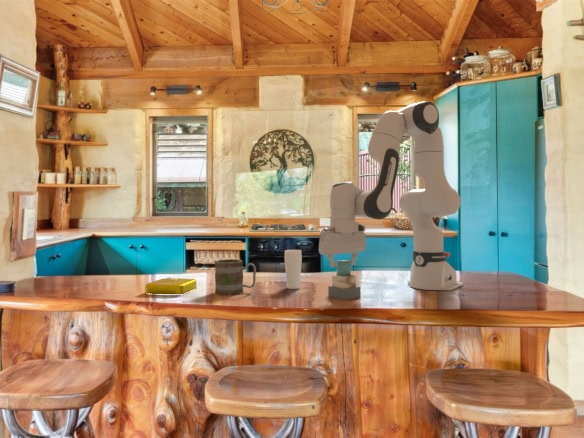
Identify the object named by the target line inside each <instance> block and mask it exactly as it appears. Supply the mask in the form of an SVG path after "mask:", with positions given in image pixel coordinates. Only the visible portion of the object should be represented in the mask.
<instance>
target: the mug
mask: <svg viewBox="0 0 584 438" xmlns="http://www.w3.org/2000/svg"><path fill="white" fill-rule="evenodd" d="M243 264H244V261H243V260H242V259H236V258H235V259H229V258H228V259H217V260H214V267H215V268H214V269H215V270H214V280H215V281H214V282H215V283H214V284H215V285H214V287H215V289H214V293H215V295H217V294H218V295H217V296H223V295H225V296H227V297H228V296H229V295H230V296H239V295H241V294H243V293H244V288H247V289H252V288H254V286H255V284H256V279H257V278H256V277H257V276H256V275H257V268H256V265H255V264H254V263H251V262H249V263H247V264H246V265H245V266H244V265H243ZM249 266H252V267H253V274H252V279H253V280H252V284H251V285H248V284H244V283H243V282H244V271H243V270H246V269H247V268H248V267H249Z"/></svg>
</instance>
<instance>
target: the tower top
mask: <svg viewBox="0 0 584 438" xmlns="http://www.w3.org/2000/svg"><path fill="white" fill-rule="evenodd" d="M331 282H332V283H331V284H332V285H331V286H334V287H339V288H343V289H344V288H351V287H356V286H357V275H355V274H351V275H349V276H339V275H337V273H336V274H331Z"/></svg>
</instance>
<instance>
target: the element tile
mask: <svg viewBox="0 0 584 438" xmlns="http://www.w3.org/2000/svg"><path fill="white" fill-rule="evenodd" d="M144 288H145V294H146V293H150V294H151V293H152V294H184V293H186V292H189V291H191V290H193V289H196V290H197V279H196V278H177V277H176V278H175V277H163V278H160V279H157V280H154V281H151V282H148V283H146V284H145V287H144ZM189 293H190V292H189Z"/></svg>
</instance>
